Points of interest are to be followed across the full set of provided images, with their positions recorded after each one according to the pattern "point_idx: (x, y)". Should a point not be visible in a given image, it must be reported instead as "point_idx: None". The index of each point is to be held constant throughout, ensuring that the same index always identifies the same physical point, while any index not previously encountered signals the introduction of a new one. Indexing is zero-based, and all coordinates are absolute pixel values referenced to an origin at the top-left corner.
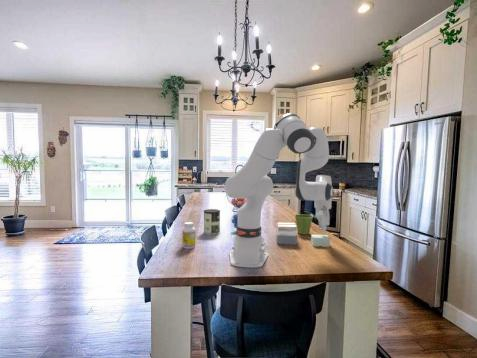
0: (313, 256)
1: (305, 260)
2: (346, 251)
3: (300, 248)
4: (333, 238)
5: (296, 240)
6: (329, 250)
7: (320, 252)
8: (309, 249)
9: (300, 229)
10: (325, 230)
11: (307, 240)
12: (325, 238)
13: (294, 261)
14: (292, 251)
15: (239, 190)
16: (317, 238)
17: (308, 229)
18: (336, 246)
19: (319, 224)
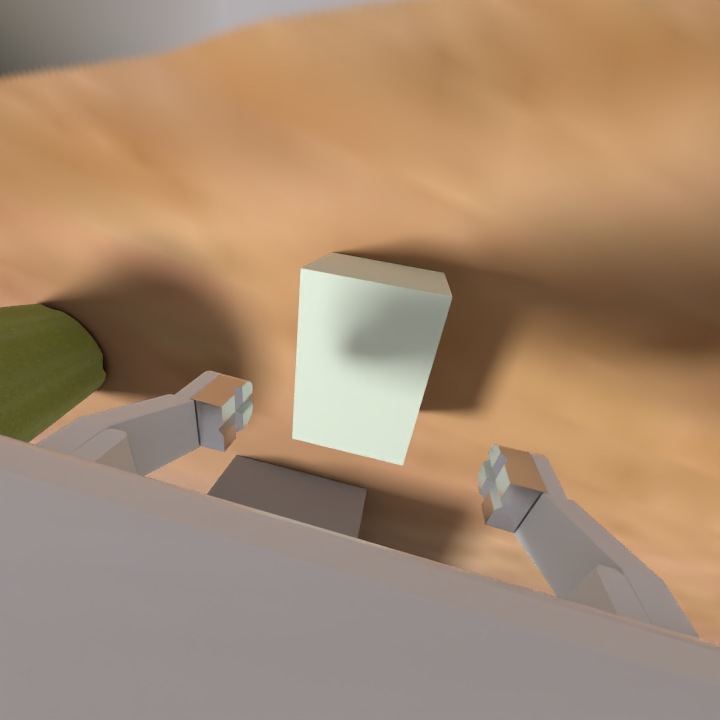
0: (647, 495)
1: (698, 560)
2: (653, 125)
3: (450, 499)
4: (126, 82)
5: (360, 518)
6: (550, 322)
7: (577, 417)
8: (483, 460)
9: (69, 407)
10: (554, 480)
11: (258, 391)
12: (436, 350)
13: (680, 605)
14: (501, 554)
15: None
16: (413, 423)
17: (40, 344)
18: (437, 183)
19: (197, 440)
